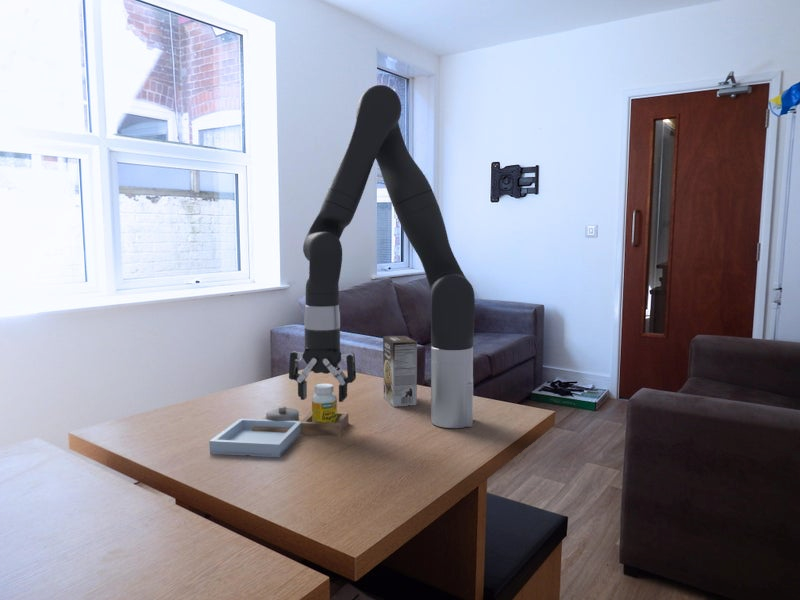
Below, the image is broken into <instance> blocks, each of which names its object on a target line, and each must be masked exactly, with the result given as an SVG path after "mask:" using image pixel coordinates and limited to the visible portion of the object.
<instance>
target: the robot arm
mask: <svg viewBox="0 0 800 600" xmlns="http://www.w3.org/2000/svg"><path fill="white" fill-rule="evenodd" d="M401 115H402V103H401V99H400V96H399V94H397V92H396V91H395V90H394V89H393V88H392V87H390V86H386V85H383V84H379V85H378V84H376V85H373V86H370V87H369V88H368V89H366V90H365V91H363V94H362V95H361V96H360V98H359V99H358V103H357V106H356V110H355V124H354V128H353V132H352V135H351V136H350V140H349V143H348V145H347V148H346V151H345V152H344V154H343V157H342V159H341V162H340V164H339V165H338V167H337V170H336V171H335V174H334V176H333V178H332V180H331V183H330V185H329V186H328V189H327V191H326V194H325V197H324V198H323V201H322V204H321V208H320V210H319V212H318V214H317V216H316V217H315V219H314V220H313V223H312V224H311V226H310V227H309V230H308V232H307V234H306V236H305V238H304V242H303V245H302V251H303V254H304V257H305V259H306V260H307V261H308V263H309V265H308V266H309V268H308V271H309V272H308V274H309V276H308V279H307V280H306V283H305V309H304V321H303V325H304V351H303V352H302V351H299V350H297V349H296V350H294V351H292V352H291V353H289V364H288V365H289V368H288V370H289V371H288V379H289V380H291V381H292V380H294V381H296V382H297V395H298V397H299V398H300V400H301V401H303V400H306V399H307V396H308V393H307V392H308V391H307V390H308V388H307V387H308V384H307V383H308V381H307V380H306V379H307V378H308V376H309V375H310V374H311V373H312V372H313V374H320V373H322V374H331V375H332V377H334V379H336V380H337V382H338V383H339V385H338V403H343V402H344V401H345V400H346V399H347V397H348V384H352V383H353V382H354V381H355V380H356V379H357V372H356V371H357V369H356V357H355V356H356V355H355V353H354V352H350V353H348V354H347V353H345V354H343V353H341V313H340V290H339V288H340V285H339V284H340V283H339V281H340V278H341V271H342V266H343V265H342V263H343V246H342V243H341V241H340V238H341V237H342V234H343V232H344V231H345V229H346V228H347V227H348V226H349V225H350V224H351V222H352V221H353V218H354V216H355V213H356V211H357V210H358V207H359V204H360V201H361V199H362V196H363V194H364V191H365V188H366V186H367V183H368V181H369V180H368V179H369V177H370V174H371V171H372V168H373V166H374V164H375V161H376V162H377V164H378V167H379V170H380V173H381V176H382V179H383V183H384V186H385V188H386V191H387V194H388V197H389V200H390V202H391V205H392V207H393V209H394V212H395V215H396V217H397V219H398V221H399V223H400V226H401V228H402V230H403V232H404V234H405V236H406V238H407V239H408V241H409V243H410V245H411V247H412V248H413V249H414V251H415V253H416V254H417V256H418V259H419V260H420V263H421V265H422V267H423V270H424V274H425V276H426V279H427V280H426V281H427V283H428V285H429V287H428V288H429V290H430V295H431V296H430V310H431V311H430V319H431V320H430V322H431V323H430V327H431V328H430V345H431V347H430V361H431V362H430V366H431V367H430V369H431V370H430V381H431V382H430V397H431V398H430V416H431V417H430V419H431V421H430V422H431V424H432V425H435V426H437V427H439V428H446V429H460V428H468V427H469V428H470V427H471V428H472V427H473V421H474V376H473V375H474V335H475V309H476V307H475V306H476V305H475V303H476V301H475V300H476V299H475V295H476V294H475V291H474V287H473V285H472V284H471V282H470V281H469V280H468V278H467V277H466V275H465V274H464V272H463V270H462V268H461V266H460V264H459V263H458V261H457V259H456V257H455V255H454V252H453V250H452V248H451V244H450V241H449V236H448V233H447V228H446V224H445V222H444V218H443V213H442V211H441V209H440V205H439V203H438V200H437V198H436V195H435V194H434V193H435V192H434V191H433V189H432V186H431V184H430V182H429V180H428V179H427V177H426V176H425V174H424V173H423V171H422V170H421V168H420V167H419V166H418V164H417V163H416V161H415V160H414V158H413V157H412V156H411V153H410V152H409V150H408V148H407V145H406V143H405V140H404V138H403V134H402V132H401V127H400V123H399V121H400V119H401ZM302 359H303V361H304V362H305V364H306V366H305V368H303V370H302V372H301V373H299V362H301V361H302ZM341 361H343V363H344V364H345V365H346V370H347V371H346V372H347V374H345V372H344V371H343V369H342V367H341V366H340V365H339V363H341ZM346 375H347V376H346Z"/></svg>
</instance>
